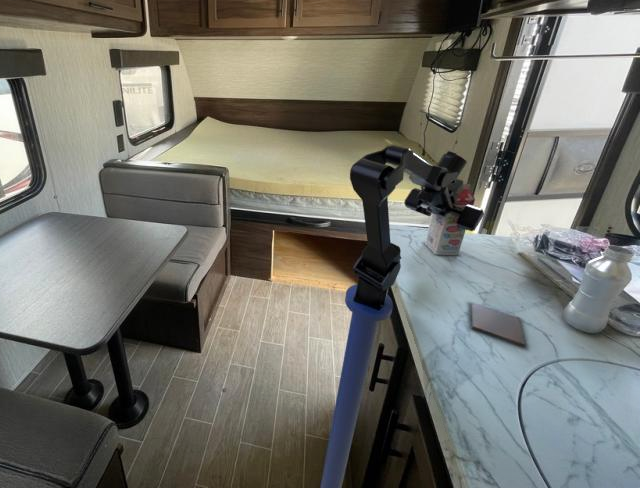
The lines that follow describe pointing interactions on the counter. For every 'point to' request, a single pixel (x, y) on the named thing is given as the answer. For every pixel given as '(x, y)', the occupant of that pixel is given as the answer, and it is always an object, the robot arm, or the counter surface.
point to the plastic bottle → (599, 290)
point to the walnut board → (497, 324)
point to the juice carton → (448, 228)
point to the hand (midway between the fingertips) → (446, 220)
